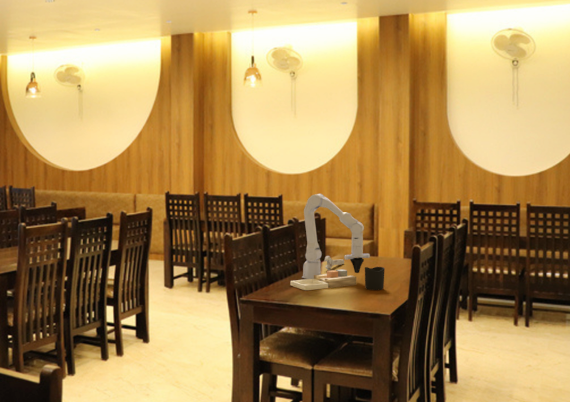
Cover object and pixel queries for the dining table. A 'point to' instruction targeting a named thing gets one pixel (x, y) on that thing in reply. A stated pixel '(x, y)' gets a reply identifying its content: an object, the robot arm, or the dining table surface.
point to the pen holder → (374, 278)
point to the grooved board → (336, 280)
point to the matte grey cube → (342, 273)
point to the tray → (309, 284)
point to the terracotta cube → (332, 274)
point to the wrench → (332, 262)
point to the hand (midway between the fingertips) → (356, 272)
